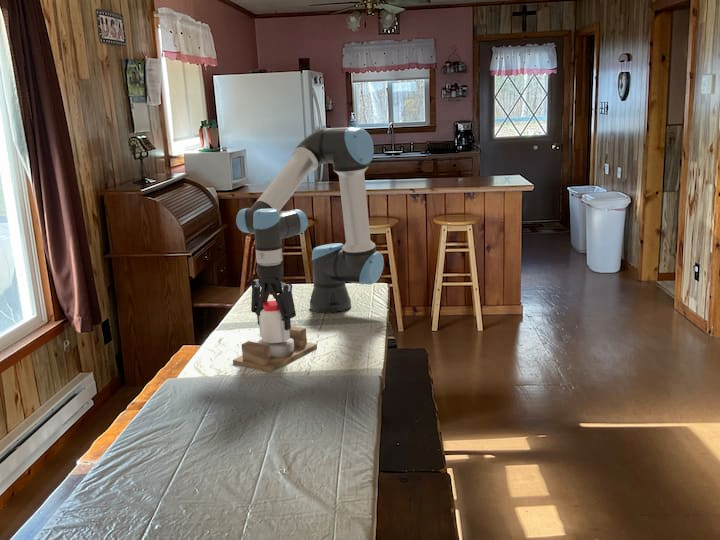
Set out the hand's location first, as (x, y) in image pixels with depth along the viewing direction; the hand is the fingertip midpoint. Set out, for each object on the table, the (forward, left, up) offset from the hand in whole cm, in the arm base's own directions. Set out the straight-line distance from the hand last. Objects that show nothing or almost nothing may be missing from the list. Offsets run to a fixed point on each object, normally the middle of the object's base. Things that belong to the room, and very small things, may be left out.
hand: (275, 337), depth 201 cm
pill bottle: (0, 0, 0) cm, 0 cm away
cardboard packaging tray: (0, 0, -6) cm, 6 cm away
